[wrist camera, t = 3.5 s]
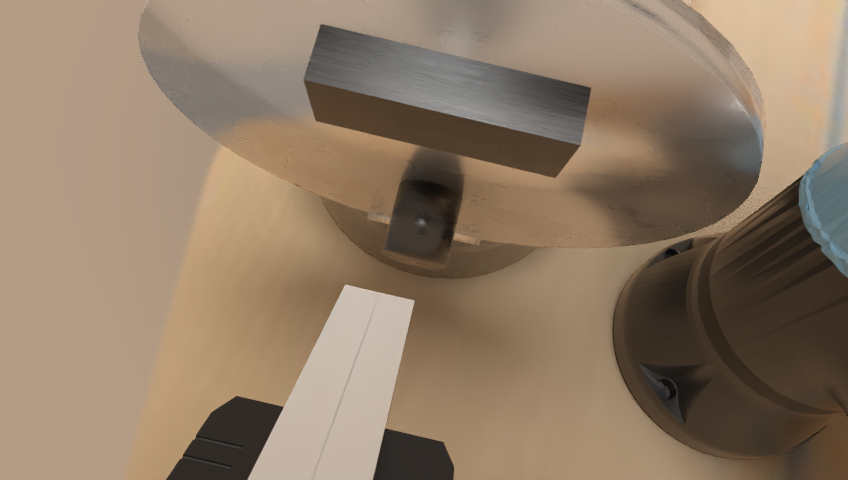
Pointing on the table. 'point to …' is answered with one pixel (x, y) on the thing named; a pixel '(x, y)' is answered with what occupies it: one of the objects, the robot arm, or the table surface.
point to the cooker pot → (460, 264)
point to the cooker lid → (475, 112)
